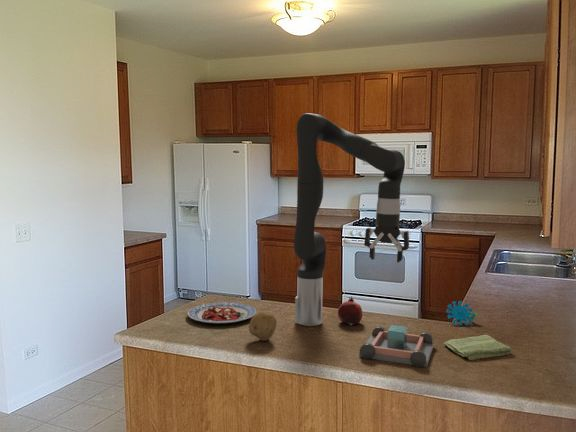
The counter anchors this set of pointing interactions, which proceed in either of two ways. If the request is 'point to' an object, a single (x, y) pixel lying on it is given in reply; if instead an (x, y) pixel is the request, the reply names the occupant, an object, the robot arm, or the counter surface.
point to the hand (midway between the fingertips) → (385, 260)
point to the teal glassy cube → (397, 337)
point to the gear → (461, 313)
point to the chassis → (413, 353)
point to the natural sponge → (263, 325)
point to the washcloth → (478, 347)
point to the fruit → (350, 312)
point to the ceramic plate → (221, 312)
